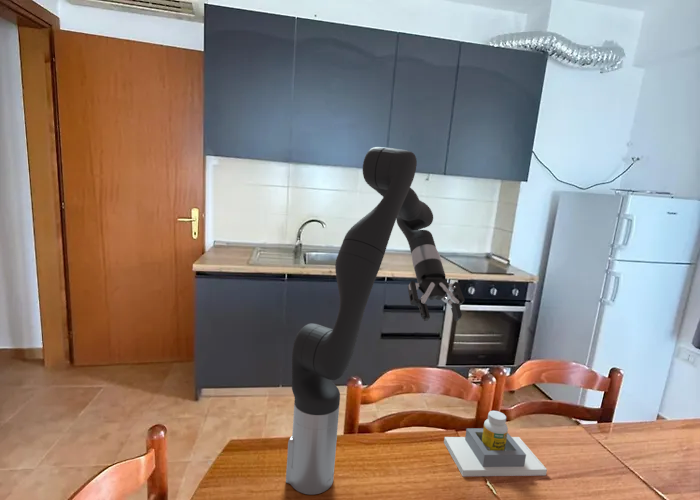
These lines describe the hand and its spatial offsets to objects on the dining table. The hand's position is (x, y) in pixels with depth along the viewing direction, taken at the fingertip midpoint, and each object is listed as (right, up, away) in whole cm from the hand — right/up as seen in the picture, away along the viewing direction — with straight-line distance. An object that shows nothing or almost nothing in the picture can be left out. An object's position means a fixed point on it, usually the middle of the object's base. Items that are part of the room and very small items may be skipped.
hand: (442, 319), depth 100 cm
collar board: (+11, -33, -4) cm, 35 cm away
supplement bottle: (+11, -31, -4) cm, 33 cm away
